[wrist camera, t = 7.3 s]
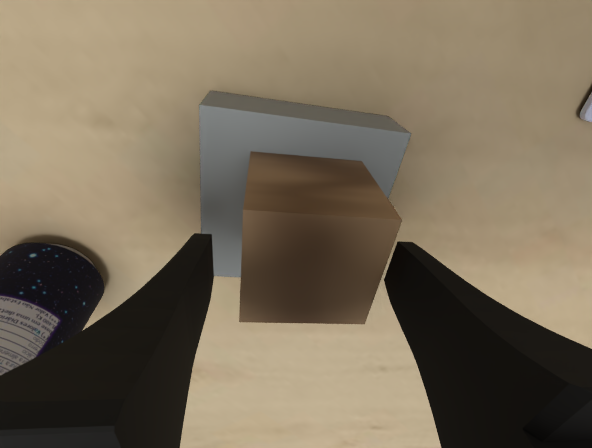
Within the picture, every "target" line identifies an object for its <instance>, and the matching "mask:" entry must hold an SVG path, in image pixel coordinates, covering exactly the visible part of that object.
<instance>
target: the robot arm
mask: <svg viewBox="0 0 592 448" xmlns="http://www.w3.org/2000/svg"><path fill="white" fill-rule="evenodd" d="M580 118H581V119H583V120H585V121H589V122H592V93H591V94H590V96H589V98H588V99H587V101H586V103H585V105H584V106H583V108H582V110H581V112H580ZM213 278H214V268H213V247H212V234H199V233H195V234H193V235H192V236H191V237H190V239H189V240H188V241H187V242H186V243H185V245H184V246H183V247H182V248H181V249H180V250H179V251H178V252H177V254H176V255H175V256H174V257H173V258H172V259H171V260H170V261H169V262H168V263H167V264H166V265H165V266H164V267H163V268H162V269H161V270H160V271H159V272H158V273H157V274H156V275H155V276H154V277H153V278H152V279H151V280H150V281H148V282H147V283H146V284H145V285H144V286H143V287H142V288H141V289H140V290H138V291H137V292H136V293H135V294H134V295H132V296H131V297H130V298H129V299H127V300H126V301H125V302H124V303H122V304H121V305H120V306H118V307H117V308H116V309H114V310H113V311H111V312H110V313H108V314H107V315H106V316H104V317H103V318H101V319H100V320H98V321H97V322H95V323H94V324H92V325H91V326H89V327H88V328H86V329H85V330H83V331H81V332H80V333H78V334H76V335H75V336H73V337H71V338H70V339H68V340H66V341H65V342H63V343H61V344H59V345H58V346H56V347H54V348H52V349H50V350H49V351H47V352H45V353H43V354H41V355H39V356H37V357H36V358H34V359H32V360H30V361H28V362H26V363H24V364H22V365H20V366H18V367H16V368H14V369H12V370H10V371H8V372H6V373H4V374H2V375H0V448H180V441H181V434H182V428H183V421H184V415H185V409H186V403H187V397H188V391H189V385H190V379H191V373H192V367H193V363H194V359H195V354H196V351H197V347H198V343H199V340H200V336H201V332H202V329H203V325H204V322H205V318H206V314H207V311H208V307H209V303H210V299H211V292H212V285H213ZM384 281H385V285H386V289H387V293H388V296H389V299H390V303H391V305H392V307H393V310H394V312H395V314H396V317H397V319H398V321H399V323H400V326H401V328H402V330H403V332H404V335H405V337H406V339H407V341H408V344H409V346H410V348H411V350H412V353H413V355H414V358H415V360H416V363H417V365H418V368H419V371H420V375H421V378H422V381H423V384H424V387H425V390H426V393H427V397H428V400H429V403H430V407H431V410H432V414H433V417H434V421H435V425H436V428H437V432H438V436H439V440H440V444H441V448H592V349H590V348H588V347H586V346H584V345H581V344H579V343H577V342H574V341H572V340H570V339H568V338H565V337H563V336H561V335H559V334H557V333H555V332H553V331H550V330H548V329H546V328H544V327H542V326H540V325H538V324H537V323H535V322H533V321H531V320H529V319H527V318H525V317H523V316H521V315H519V314H518V313H516V312H514V311H512V310H510V309H509V308H507V307H505V306H504V305H502V304H500V303H499V302H497V301H495V300H494V299H492V298H490V297H489V296H487V295H486V294H484V293H483V292H481V291H480V290H478V289H477V288H475V287H474V286H472V285H471V284H469V283H468V282H466V281H465V280H464V279H462V278H461V277H459V276H458V275H457V274H455V273H454V272H453V271H451V270H450V269H449V268H447V267H446V266H445V265H443V264H442V263H441V262H439V261H438V260H437V259H435V258H434V257H433V256H431V255H430V254H429V253H427V252H426V251H424V250H423V249H422V248H420V247H419V246H417V245H416V244H414V243H413V242H397V245H396V248H395V251H394V253H393V256H392V259H391V262H390V265H389V267H388V270H387V273H386V276H385V279H384Z"/></svg>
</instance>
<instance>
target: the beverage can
mask: <svg viewBox="0 0 592 448" xmlns="http://www.w3.org/2000/svg"><path fill="white" fill-rule="evenodd" d="M103 293H104V282H103V279H102V277H101V275H100V273H99V272H98V270H97V269H96V268H95V266H94V264H93V263H92V262H91V261H90V260H89V259H88V258H87V257H86V256H85V255H83V254H82V253H80V252H79V251H77V250H75V249H72V248H70V247H67V246H63V245H58V244H46V243H25V244H20V245H16V246H14V247H11V248H10V249H8V250H7V251H5V252H4V253H3V254H2V255H1V256H0V375H2V374H4V373H6V372H8V371H10V370H12V369H14V368H16V367H18V366H20V365H22V364H24V363H26V362H28V361H30V360H32V359H34V358H36V357H37V356H39V355H41V354H43V353H45V352H47V351H49V350H50V349H52V348H54V347H56V346H58V345H59V344H61V343H63V342H65V341H66V340H68V339H70V338H71V337H73V336H75V335H76V334H78V333H80V332H81V331H82V330H83V328H84V326H85V325H86V323H87V321H88V320H89V318H90V316H91V315H92V313H93V311H94V310H95V308H96V306H97V305H98V303H99V301H100V299H101V298H102V296H103Z"/></svg>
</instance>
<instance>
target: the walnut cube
mask: <svg viewBox="0 0 592 448" xmlns="http://www.w3.org/2000/svg"><path fill="white" fill-rule="evenodd" d="M401 222H402V219H401V217H400V216H399V214H398V213H397V212H396V210H395V209H394V207H393V206H392V204H391V203H390V201H389V200H388V198H387V197H386V196H385V194H384V193H383V191H382V190H381V188H380V187H379V185H378V184H377V182H376V181H375V180H374V178H373V177H372V175H371V174H370V172H369V171H368V169H367V168H366V166H365V165H364V164H363V162H362V161H355V160H344V159H332V158H321V157H310V156H298V155H287V154H276V153H265V152H253V151H251V152H250V160H249V168H248V175H247V183H246V191H245V198H244V206H243V225H242V256H241V287H240V318H239V322H264V323H325V324H365V322H366V319H367V316H368V313H369V311H370V308H371V305H372V302H373V300H374V297H375V294H376V291H377V288H378V286H379V283H380V280H381V277H382V275H383V272H384V269H385V266H386V264H387V261H388V258H389V255H390V253H391V250H392V247H393V244H394V241H395V239H396V236H397V233H398V230H399V228H400V225H401Z"/></svg>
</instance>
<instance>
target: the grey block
mask: <svg viewBox="0 0 592 448" xmlns="http://www.w3.org/2000/svg"><path fill="white" fill-rule="evenodd" d="M199 120H200V189H201V234H212V247H213V268H214V276H224V277H241V256H242V225H243V206H244V198H245V191H246V183H247V175H248V168H249V160H250V152H251V151H253V152H265V153H276V154H287V155H298V156H310V157H321V158H332V159H344V160H355V161H362V162H363V164H364V165H365V166H366V168H367V169H368V171H369V172H370V174H371V175H372V177H373V178H374V180H375V181H376V182H377V184H378V185H379V187H380V188H381V190H382V191H383V193H384V194H385V196H386V197H387V198H389V195H390V192H391V190H392V187H393V184H394V181H395V178H396V175H397V173H398V170H399V167H400V164H401V161H402V158H403V156H404V153H405V150H406V147H407V144H408V142H409V139H410V136H411V133H410V132H409V131H407V130H406V129H405V128H403V127H402V126H401V125H399V124H398V123H397V122H395V121H394V120H393V119H391V118H390V117H389V116H383V115H377V114H370V113H363V112H356V111H349V110H342V109H335V108H328V107H321V106H314V105H307V104H300V103H293V102H286V101H279V100H273V99H266V98H259V97H252V96H245V95H238V94H231V93H224V92H217V91H210V92H209V93H208V94H207V96H206V97H205V98H204V99H203V101H202V102H201V103H200V104H199Z"/></svg>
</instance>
